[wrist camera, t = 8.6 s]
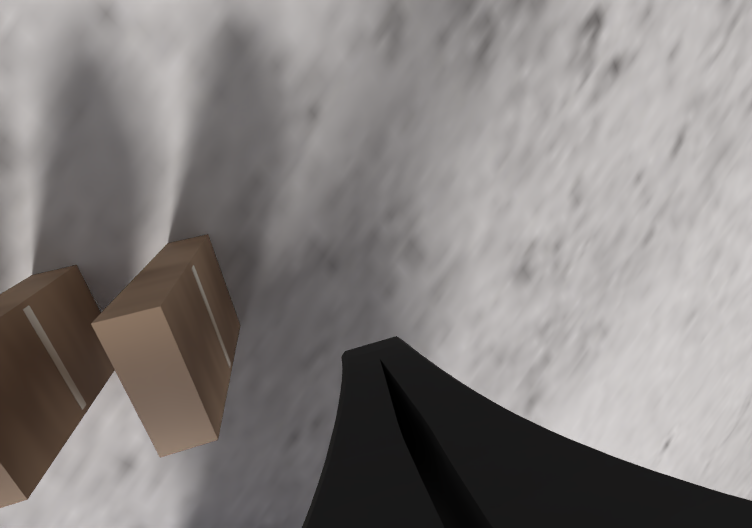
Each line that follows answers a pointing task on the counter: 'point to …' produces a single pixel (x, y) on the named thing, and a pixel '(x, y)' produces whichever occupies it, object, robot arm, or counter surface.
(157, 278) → the domino
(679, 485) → the robot arm
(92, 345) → the domino
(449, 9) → the counter surface
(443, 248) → the counter surface
